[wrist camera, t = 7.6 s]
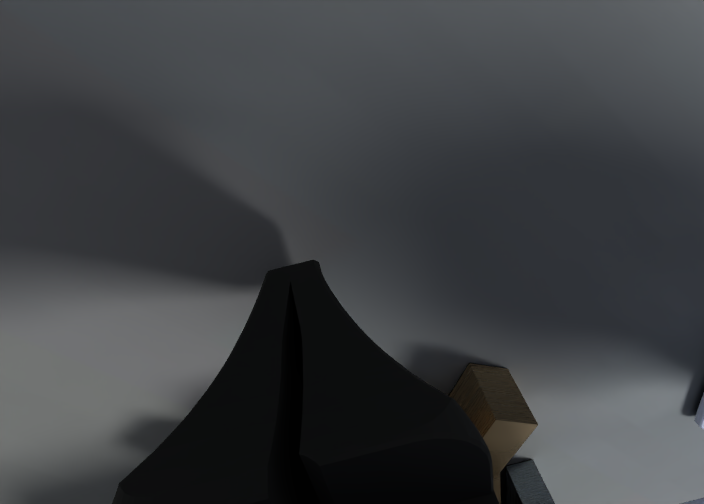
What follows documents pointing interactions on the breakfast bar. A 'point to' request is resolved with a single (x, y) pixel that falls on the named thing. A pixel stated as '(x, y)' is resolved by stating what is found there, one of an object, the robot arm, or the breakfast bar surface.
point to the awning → (502, 429)
